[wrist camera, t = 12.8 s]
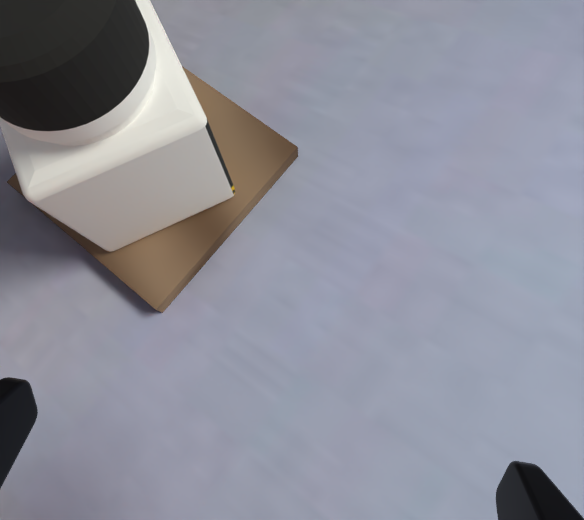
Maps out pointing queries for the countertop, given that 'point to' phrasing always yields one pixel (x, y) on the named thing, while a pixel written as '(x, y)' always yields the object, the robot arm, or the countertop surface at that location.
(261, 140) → the walnut board
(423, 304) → the countertop surface
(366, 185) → the countertop surface
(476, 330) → the countertop surface
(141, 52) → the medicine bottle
